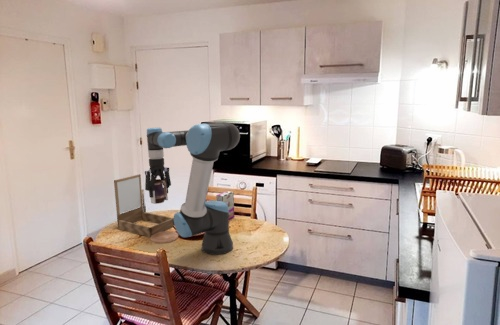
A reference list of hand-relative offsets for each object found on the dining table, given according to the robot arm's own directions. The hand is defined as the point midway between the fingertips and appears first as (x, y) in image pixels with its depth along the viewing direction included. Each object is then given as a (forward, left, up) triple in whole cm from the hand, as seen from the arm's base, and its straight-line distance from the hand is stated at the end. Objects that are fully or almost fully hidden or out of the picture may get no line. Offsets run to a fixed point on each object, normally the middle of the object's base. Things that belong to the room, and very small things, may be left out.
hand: (159, 201), depth 183 cm
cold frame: (+17, -5, -19) cm, 26 cm away
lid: (+30, -5, -11) cm, 32 cm away
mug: (0, 0, -1) cm, 1 cm away
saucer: (-3, +1, -19) cm, 19 cm away
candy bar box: (-15, -38, -19) cm, 45 cm away
